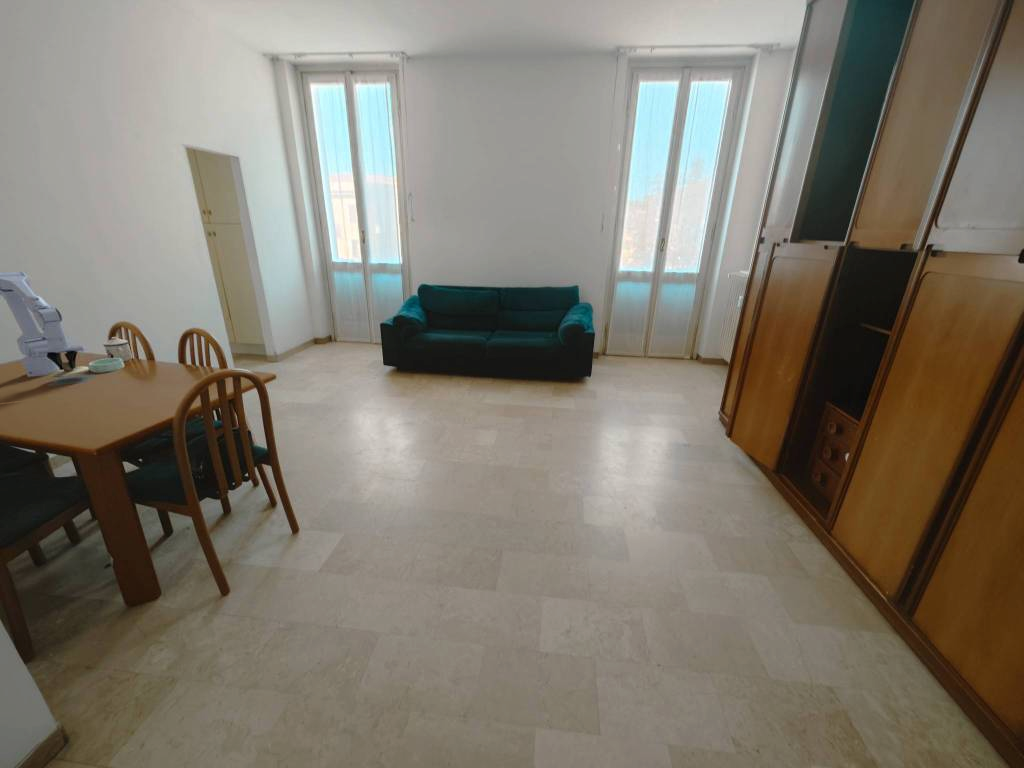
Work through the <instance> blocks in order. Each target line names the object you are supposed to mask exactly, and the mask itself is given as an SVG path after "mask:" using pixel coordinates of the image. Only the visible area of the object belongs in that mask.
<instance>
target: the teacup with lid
mask: <svg viewBox="0 0 1024 768" xmlns="http://www.w3.org/2000/svg"><path fill="white" fill-rule="evenodd" d="M103 346H104V349H105V352H106V355H107V357H108V358H121V359H123V362H126V361H127V362H128V361H131V360H132V359H134V355H133V354H132V351H131V347H130V345H129V341H128V340H126V339H123V338H122V339H121V338H118V337H117V336H112V337H111V339H109V340H108V341H105V342H103Z"/></svg>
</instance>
